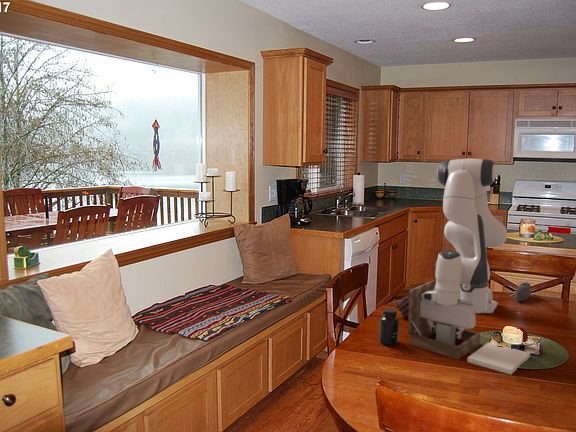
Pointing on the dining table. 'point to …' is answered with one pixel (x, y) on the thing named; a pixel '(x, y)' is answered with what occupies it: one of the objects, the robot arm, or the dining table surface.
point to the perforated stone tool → (522, 292)
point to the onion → (525, 335)
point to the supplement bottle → (389, 327)
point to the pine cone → (403, 306)
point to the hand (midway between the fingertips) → (445, 334)
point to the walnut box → (422, 330)
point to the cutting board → (498, 358)
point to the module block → (445, 333)
